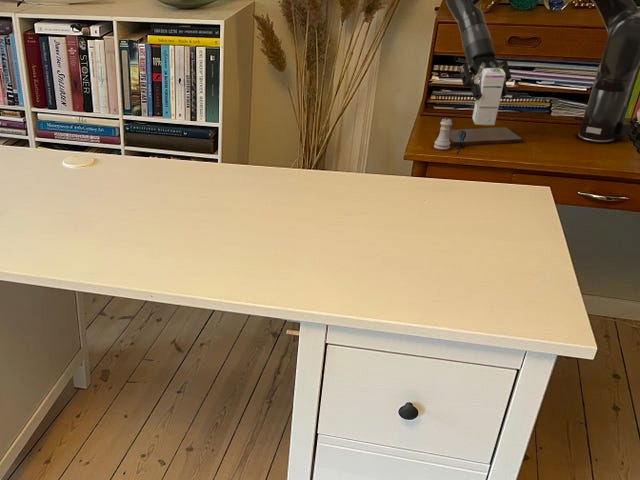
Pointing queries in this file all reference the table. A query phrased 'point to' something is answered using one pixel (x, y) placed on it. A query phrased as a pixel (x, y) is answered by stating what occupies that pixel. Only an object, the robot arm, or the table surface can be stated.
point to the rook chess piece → (443, 135)
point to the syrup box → (489, 96)
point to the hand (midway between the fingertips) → (491, 96)
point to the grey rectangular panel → (484, 136)
